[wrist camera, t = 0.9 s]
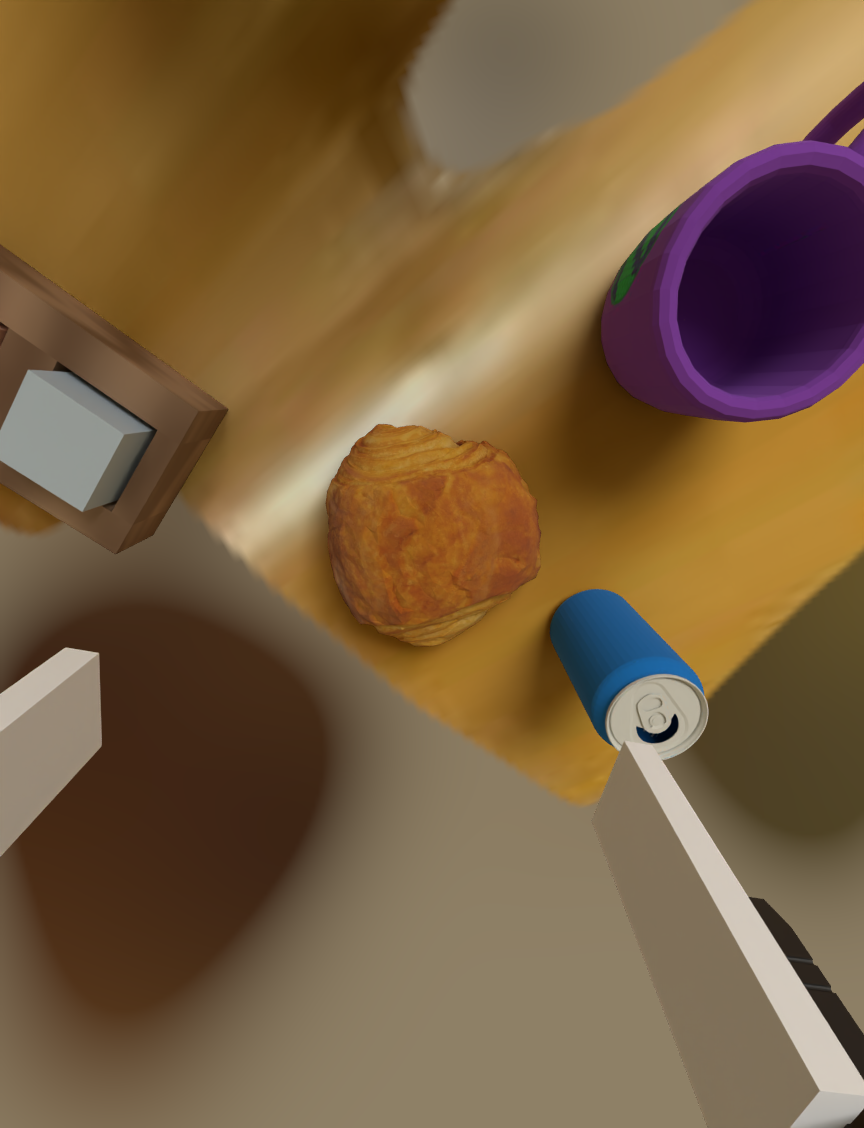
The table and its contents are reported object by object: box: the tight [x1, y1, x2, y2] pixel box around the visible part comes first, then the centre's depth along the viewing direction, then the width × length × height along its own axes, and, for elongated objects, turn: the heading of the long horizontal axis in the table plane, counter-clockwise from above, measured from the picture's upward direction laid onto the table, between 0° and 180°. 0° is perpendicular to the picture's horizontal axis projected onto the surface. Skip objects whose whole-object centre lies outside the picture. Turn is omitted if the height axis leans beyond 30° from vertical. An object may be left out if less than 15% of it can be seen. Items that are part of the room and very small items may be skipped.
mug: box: [601, 82, 864, 422], centre depth 26 cm, size 17×11×10 cm, turn 149°
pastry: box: [326, 424, 541, 646], centre depth 33 cm, size 14×16×8 cm
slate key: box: [0, 370, 157, 512], centre depth 29 cm, size 5×5×4 cm
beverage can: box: [550, 589, 708, 760], centre depth 32 cm, size 6×6×12 cm
